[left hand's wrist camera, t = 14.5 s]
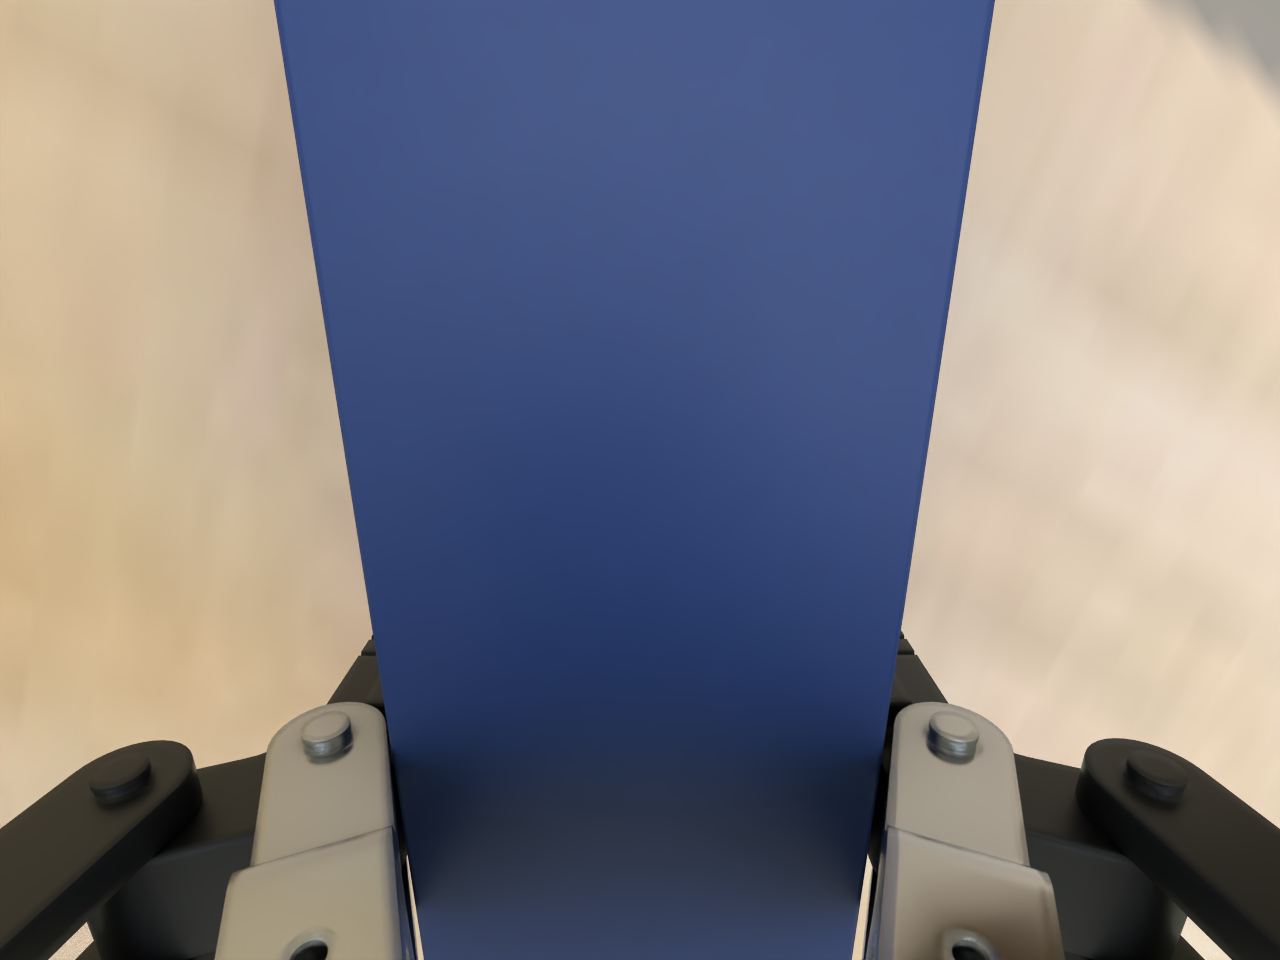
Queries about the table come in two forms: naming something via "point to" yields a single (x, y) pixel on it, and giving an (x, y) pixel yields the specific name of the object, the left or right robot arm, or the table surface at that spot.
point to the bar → (635, 439)
